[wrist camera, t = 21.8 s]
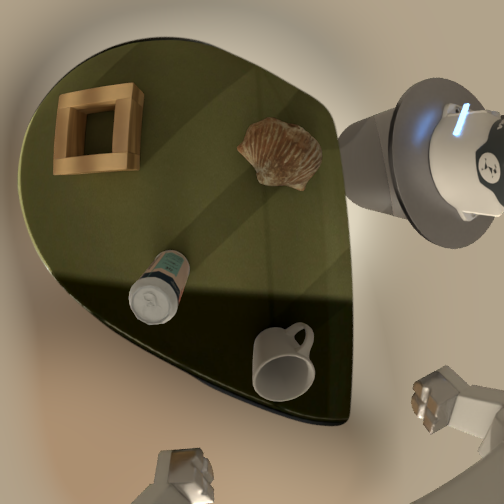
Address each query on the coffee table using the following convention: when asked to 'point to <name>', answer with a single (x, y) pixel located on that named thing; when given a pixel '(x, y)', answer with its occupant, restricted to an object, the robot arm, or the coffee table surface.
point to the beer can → (160, 288)
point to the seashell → (281, 153)
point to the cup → (282, 363)
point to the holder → (74, 126)
